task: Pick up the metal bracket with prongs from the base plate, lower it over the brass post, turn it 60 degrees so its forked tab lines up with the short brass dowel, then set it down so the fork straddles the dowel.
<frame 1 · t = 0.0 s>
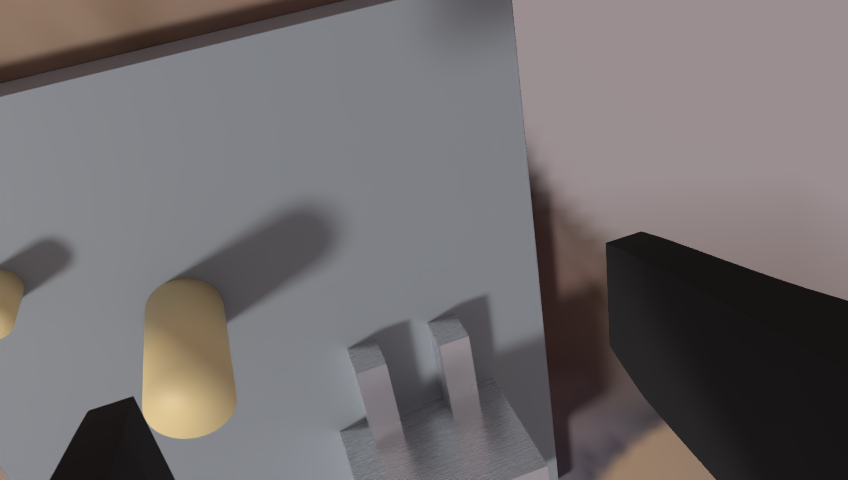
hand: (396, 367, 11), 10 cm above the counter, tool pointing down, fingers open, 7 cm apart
metal bracket with prongs: (430, 460, 25), point 1 cm above the counter, touching base plate
base plate: (286, 359, 23), on the counter
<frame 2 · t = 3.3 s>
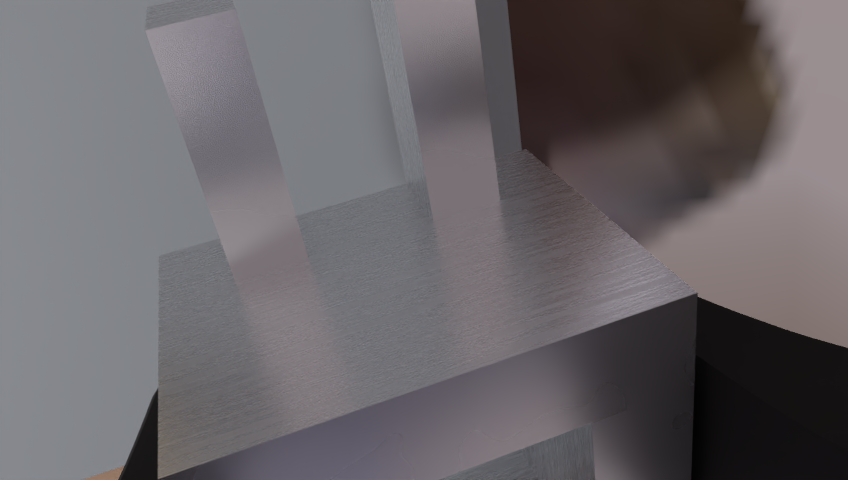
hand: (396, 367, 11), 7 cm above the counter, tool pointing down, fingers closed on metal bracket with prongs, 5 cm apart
metal bracket with prongs: (386, 347, 11), point 6 cm above the counter, touching gripper
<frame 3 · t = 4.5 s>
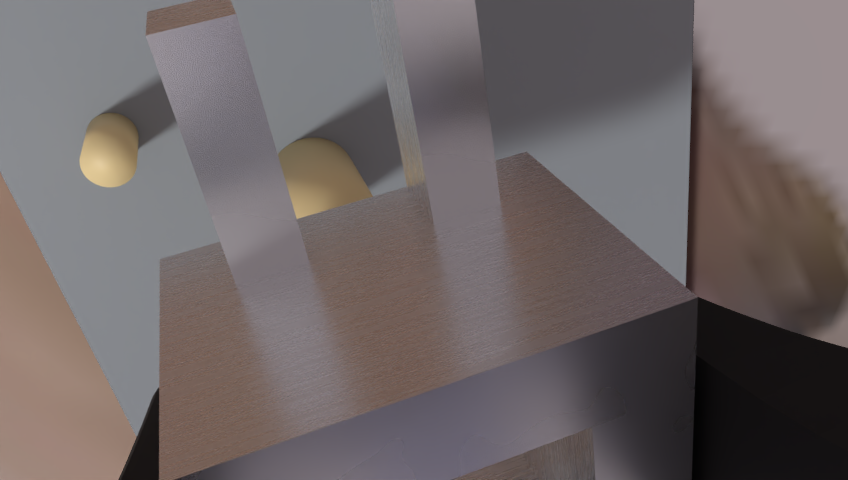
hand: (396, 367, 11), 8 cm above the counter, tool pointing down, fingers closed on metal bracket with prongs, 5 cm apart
metal bracket with prongs: (387, 349, 11), point 8 cm above the counter, touching gripper
base plate: (405, 254, 20), on the counter
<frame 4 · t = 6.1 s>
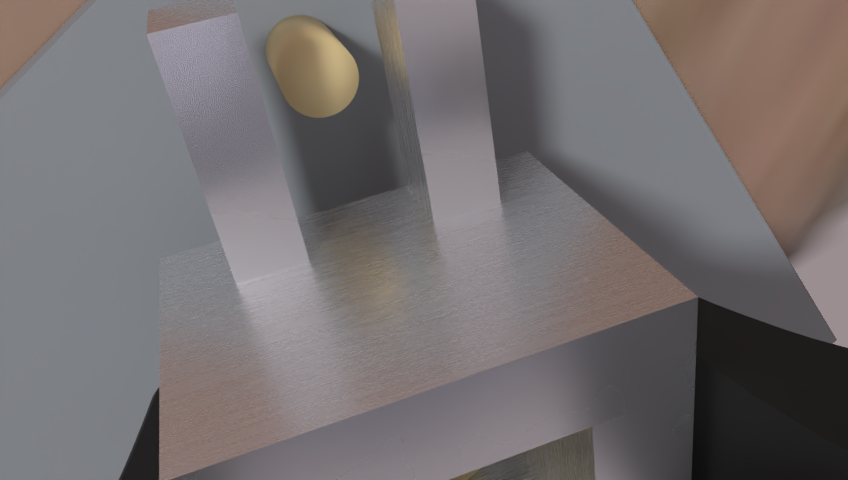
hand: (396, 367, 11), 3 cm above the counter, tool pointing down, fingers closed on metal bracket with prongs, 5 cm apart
metal bracket with prongs: (387, 348, 11), point 3 cm above the counter, touching gripper
base plate: (288, 427, 15), on the counter
when the fingers open (3 cm above the counter, at t = 7.2 s): metal bracket with prongs stays where it is, resting on base plate.
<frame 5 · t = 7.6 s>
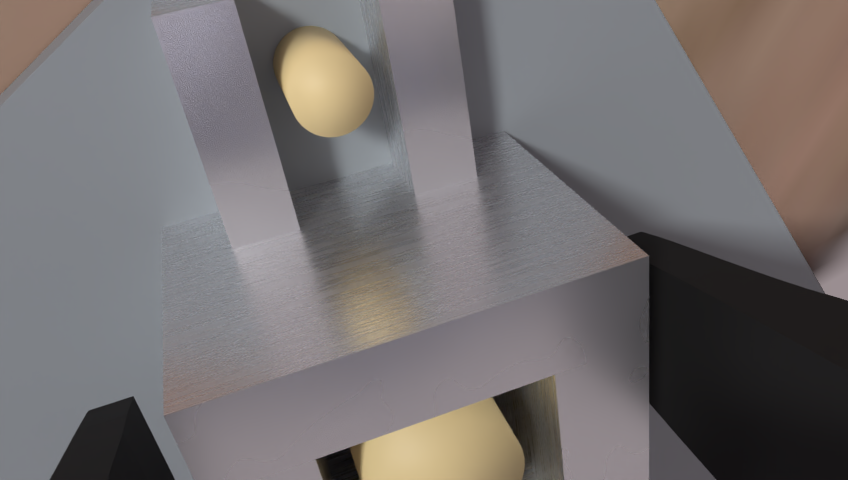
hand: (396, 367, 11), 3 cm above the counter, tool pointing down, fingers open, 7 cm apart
metal bracket with prongs: (374, 316, 12), point 1 cm above the counter, touching base plate
base plate: (294, 452, 15), on the counter
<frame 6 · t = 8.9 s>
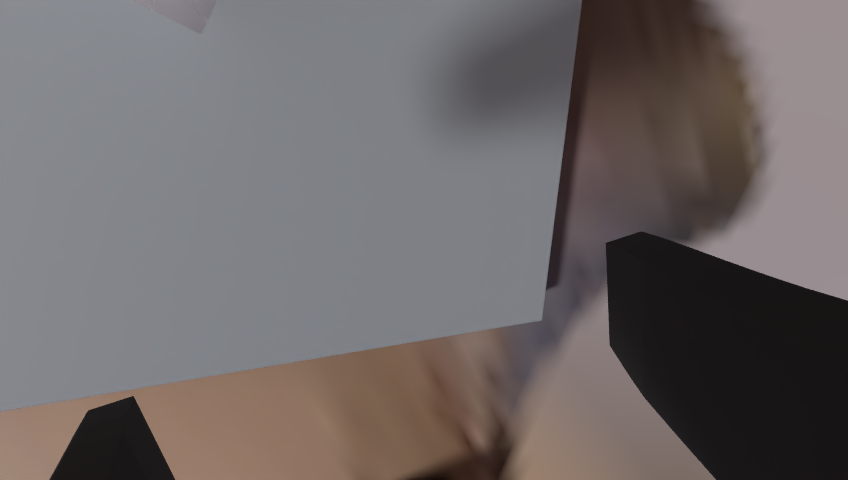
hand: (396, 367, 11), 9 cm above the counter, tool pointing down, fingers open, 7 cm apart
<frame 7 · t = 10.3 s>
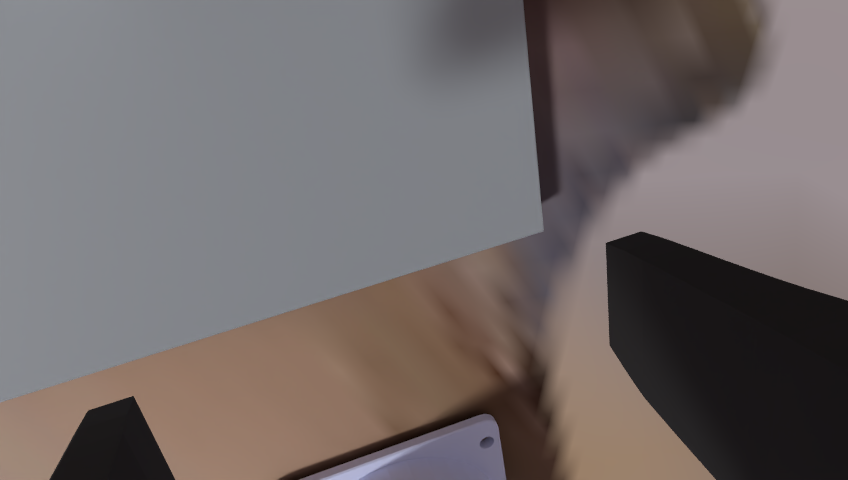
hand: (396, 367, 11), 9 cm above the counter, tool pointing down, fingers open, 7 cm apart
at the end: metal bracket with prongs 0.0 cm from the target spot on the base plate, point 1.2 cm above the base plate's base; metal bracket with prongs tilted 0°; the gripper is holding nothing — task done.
